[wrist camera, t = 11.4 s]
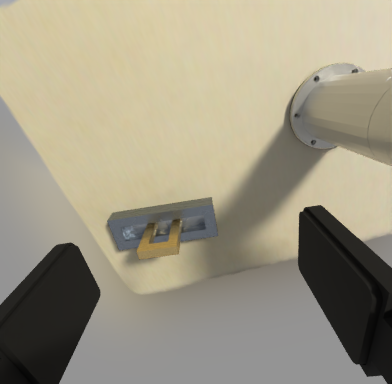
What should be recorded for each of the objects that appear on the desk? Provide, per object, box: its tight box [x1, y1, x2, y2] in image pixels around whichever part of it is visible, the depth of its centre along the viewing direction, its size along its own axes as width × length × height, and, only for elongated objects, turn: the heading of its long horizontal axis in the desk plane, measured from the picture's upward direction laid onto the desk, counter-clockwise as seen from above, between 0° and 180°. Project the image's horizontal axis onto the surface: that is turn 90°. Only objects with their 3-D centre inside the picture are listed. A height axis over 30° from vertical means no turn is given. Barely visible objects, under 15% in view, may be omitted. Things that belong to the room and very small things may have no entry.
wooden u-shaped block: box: [137, 219, 182, 260], centre depth 39 cm, size 7×2×9 cm, turn 100°
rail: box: [107, 197, 218, 250], centre depth 43 cm, size 20×7×3 cm, turn 100°
